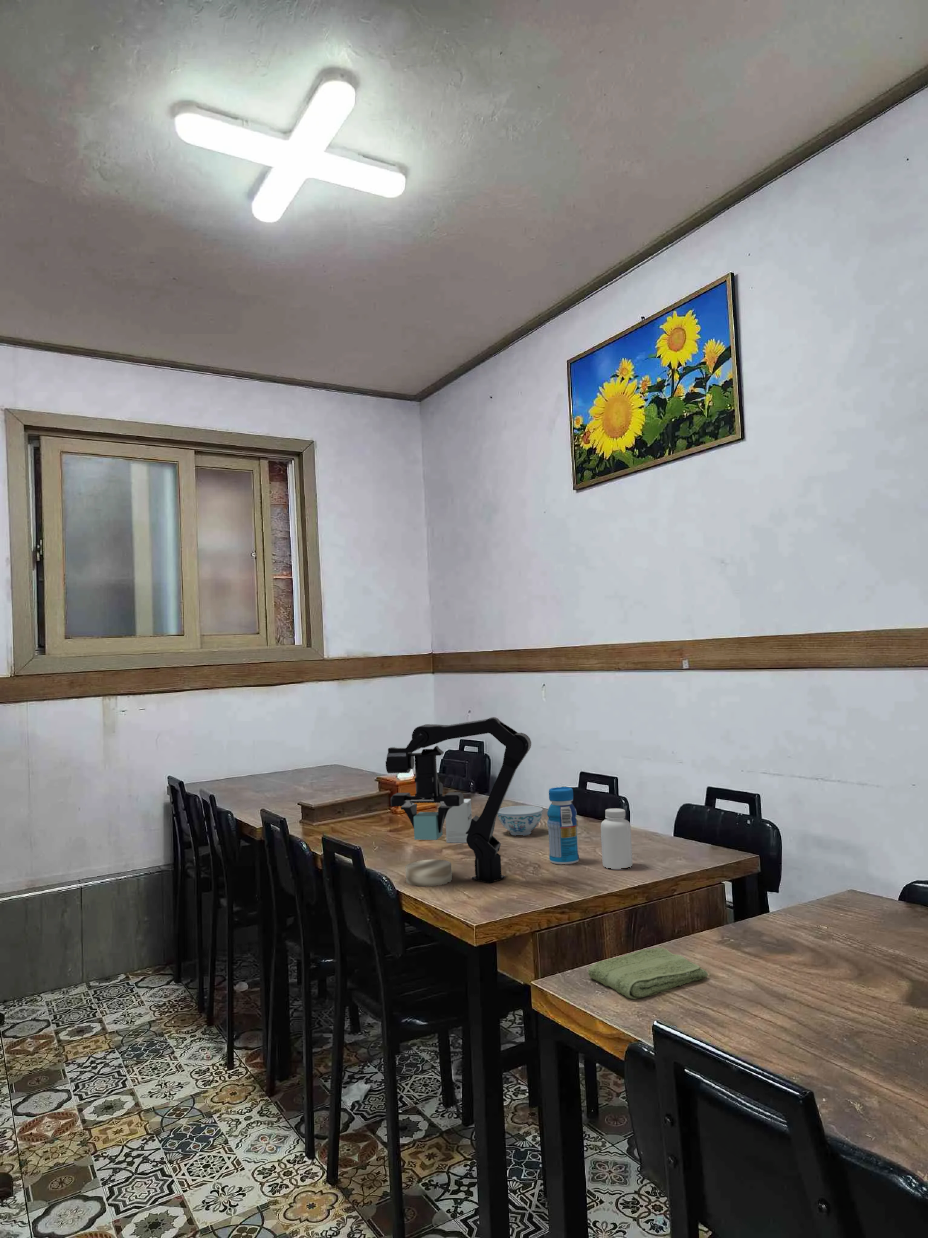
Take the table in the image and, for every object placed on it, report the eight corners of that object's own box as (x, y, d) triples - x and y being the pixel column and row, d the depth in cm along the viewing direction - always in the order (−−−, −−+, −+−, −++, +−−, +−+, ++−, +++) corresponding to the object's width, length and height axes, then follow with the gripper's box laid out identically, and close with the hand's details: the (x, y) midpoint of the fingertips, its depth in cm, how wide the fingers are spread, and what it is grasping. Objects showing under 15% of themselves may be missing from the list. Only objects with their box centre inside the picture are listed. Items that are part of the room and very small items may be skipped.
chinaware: (513, 827, 275) (512, 804, 275) (552, 831, 266) (551, 807, 266) (488, 836, 263) (487, 812, 263) (528, 840, 254) (527, 815, 254)
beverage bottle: (544, 864, 223) (540, 790, 224) (555, 857, 230) (552, 786, 231) (573, 866, 219) (569, 791, 220) (583, 859, 226) (580, 787, 228)
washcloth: (712, 981, 139) (711, 962, 139) (632, 1005, 130) (631, 985, 130) (659, 958, 150) (658, 940, 150) (583, 979, 142) (582, 961, 142)
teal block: (442, 835, 215) (441, 812, 215) (436, 839, 209) (435, 816, 210) (420, 834, 216) (420, 812, 217) (414, 839, 211) (413, 816, 211)
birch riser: (461, 878, 211) (460, 862, 212) (429, 889, 202) (428, 873, 203) (428, 872, 219) (428, 857, 220) (396, 883, 210) (395, 867, 211)
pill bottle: (638, 865, 217) (635, 809, 218) (622, 872, 211) (619, 813, 212) (613, 861, 222) (610, 806, 223) (596, 867, 216) (593, 811, 217)
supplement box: (468, 843, 253) (467, 802, 254) (445, 843, 255) (444, 802, 255) (473, 838, 260) (471, 798, 261) (450, 838, 262) (449, 798, 262)
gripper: (467, 768, 220) (469, 826, 219) (401, 769, 224) (404, 826, 223) (457, 774, 209) (460, 835, 208) (388, 774, 213) (391, 834, 212)
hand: (428, 832), depth 213 cm, fingers closed on teal block, 6 cm apart
